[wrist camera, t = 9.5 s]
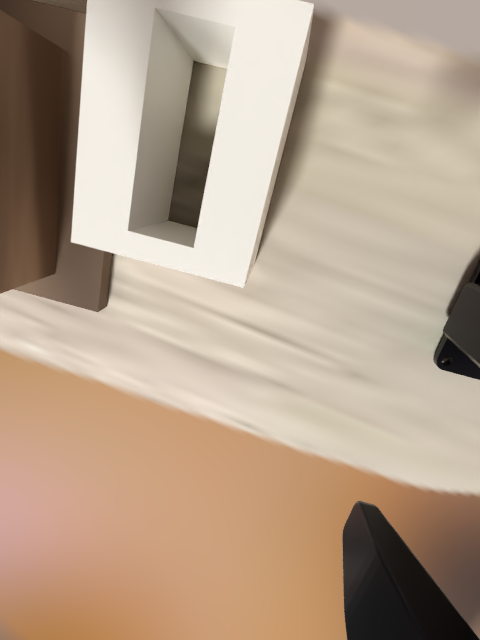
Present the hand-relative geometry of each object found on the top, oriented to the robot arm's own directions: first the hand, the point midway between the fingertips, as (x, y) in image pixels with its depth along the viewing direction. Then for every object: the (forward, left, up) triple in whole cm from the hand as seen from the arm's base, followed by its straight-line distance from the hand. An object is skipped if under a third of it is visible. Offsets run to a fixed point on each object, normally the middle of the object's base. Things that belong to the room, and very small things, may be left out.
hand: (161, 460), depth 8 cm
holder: (+3, -7, -12) cm, 14 cm away
